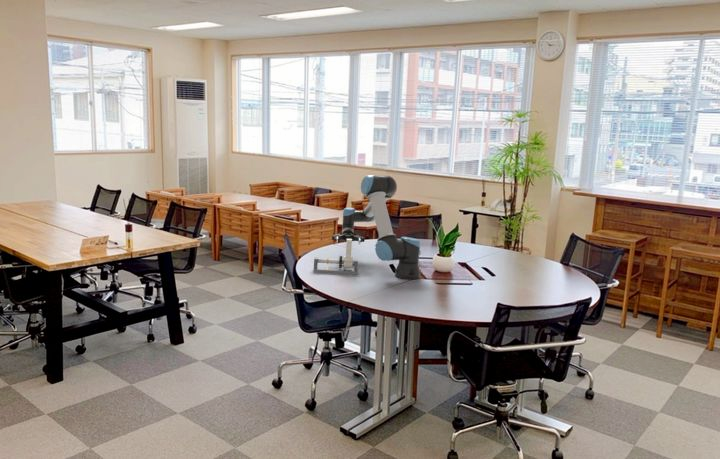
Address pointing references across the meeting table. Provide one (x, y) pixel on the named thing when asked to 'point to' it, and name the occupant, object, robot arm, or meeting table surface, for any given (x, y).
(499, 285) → the meeting table surface
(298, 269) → the meeting table surface
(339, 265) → the ring
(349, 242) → the sleeve
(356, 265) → the pipe stand
